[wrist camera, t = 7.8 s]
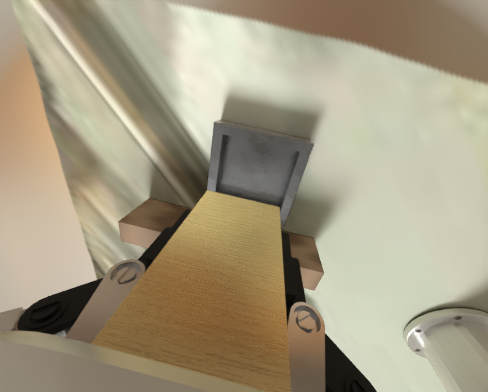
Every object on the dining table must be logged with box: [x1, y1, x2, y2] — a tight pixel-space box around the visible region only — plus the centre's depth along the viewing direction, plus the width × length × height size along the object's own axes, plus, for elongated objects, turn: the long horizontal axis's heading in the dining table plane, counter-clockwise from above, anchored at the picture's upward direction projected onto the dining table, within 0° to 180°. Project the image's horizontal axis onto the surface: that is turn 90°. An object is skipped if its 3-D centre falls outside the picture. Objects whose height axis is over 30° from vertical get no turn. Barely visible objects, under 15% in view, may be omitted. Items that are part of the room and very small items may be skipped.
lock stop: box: [91, 190, 291, 392], centre depth 8 cm, size 4×4×9 cm
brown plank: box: [118, 198, 324, 290], centre depth 24 cm, size 24×3×6 cm, turn 80°
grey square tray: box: [207, 120, 314, 226], centre depth 22 cm, size 10×10×2 cm
